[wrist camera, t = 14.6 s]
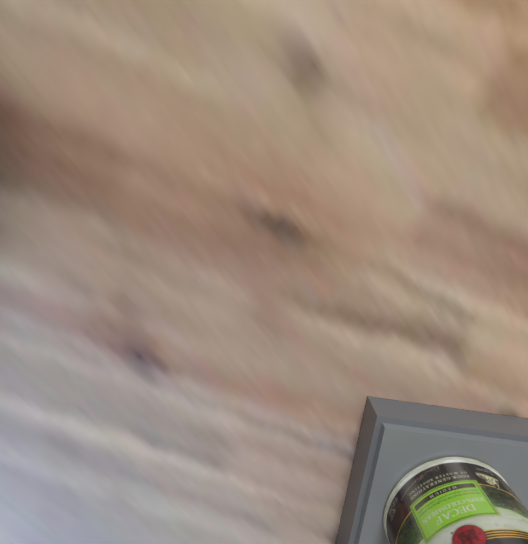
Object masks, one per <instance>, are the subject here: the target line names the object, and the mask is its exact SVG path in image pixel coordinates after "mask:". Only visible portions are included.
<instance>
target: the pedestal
mask: <svg viewBox="0 0 528 544" xmlns="http://www.w3.org/2000/svg"><path fill="white" fill-rule="evenodd" d="M444 457H465V458H471V459H475V460H478V461H480V462H483V463H485V464H487V465H489V466H490V467H492V468H493V469H495V470H496V471H497V472H498V473H499V474H500V475H501V476H502V477H503V478H504V479H505V480H506V482H507V483H508V485H509V487H510V488H511V490H512V491H513V492H514V493H515V495H516V496H517V497H518V498H519V500H520V501H521V502H522V504H523V505H524V506H525V507H526V509H527V510H528V418H520V417H513V416H506V415H499V414H491V413H484V412H477V411H470V410H462V409H455V408H448V407H441V406H433V405H426V404H419V403H412V402H404V401H397V400H390V399H383V398H375V397H367V402H366V406H365V411H364V415H363V420H362V425H361V429H360V434H359V438H358V443H357V447H356V452H355V457H354V461H353V466H352V470H351V475H350V480H349V484H348V489H347V493H346V498H345V503H344V507H343V512H342V516H341V521H340V526H339V530H338V535H337V539H336V544H389V542H388V539H387V537H386V534H385V530H384V523H383V517H384V509H385V505H386V502H387V499H388V497H389V495H390V493H391V491H392V490H393V488H394V487H395V485H396V484H397V483H398V482H399V481H400V480H401V479H402V478H403V477H404V476H405V475H406V474H407V473H408V472H410V471H411V470H413V469H415V468H416V467H418V466H420V465H421V464H423V463H426V462H428V461H431V460H435V459H439V458H444Z"/></svg>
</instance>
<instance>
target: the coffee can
mask: <svg viewBox="0 0 528 544" xmlns="http://www.w3.org/2000/svg"><path fill="white" fill-rule="evenodd" d="M383 523H384V530H385V534H386V537H387V539H388V542H389V544H528V510H527V509H526V507H525V506H524V505H523V504H522V502H521V501H520V500H519V498H518V497H517V496H516V495H515V493H514V492H513V491H512V490H511V488H510V487H509V485H508V483H507V482H506V480H505V479H504V478H503V477H502V476H501V475H500V474H499V473H498V472H497V471H496V470H495V469H493V468H492V467H490V466H489V465H487V464H485V463H483V462H480V461H478V460H475V459H471V458H465V457H444V458H439V459H435V460H431V461H428V462H426V463H423V464H421V465H420V466H418V467H416V468H415V469H413V470H411V471H410V472H408V473H407V474H406V475H405V476H404V477H403V478H402V479H401V480H400V481H399V482H398V483H397V484H396V485H395V487H394V488H393V490H392V491H391V493H390V495H389V497H388V499H387V502H386V505H385V509H384V517H383Z"/></svg>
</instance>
